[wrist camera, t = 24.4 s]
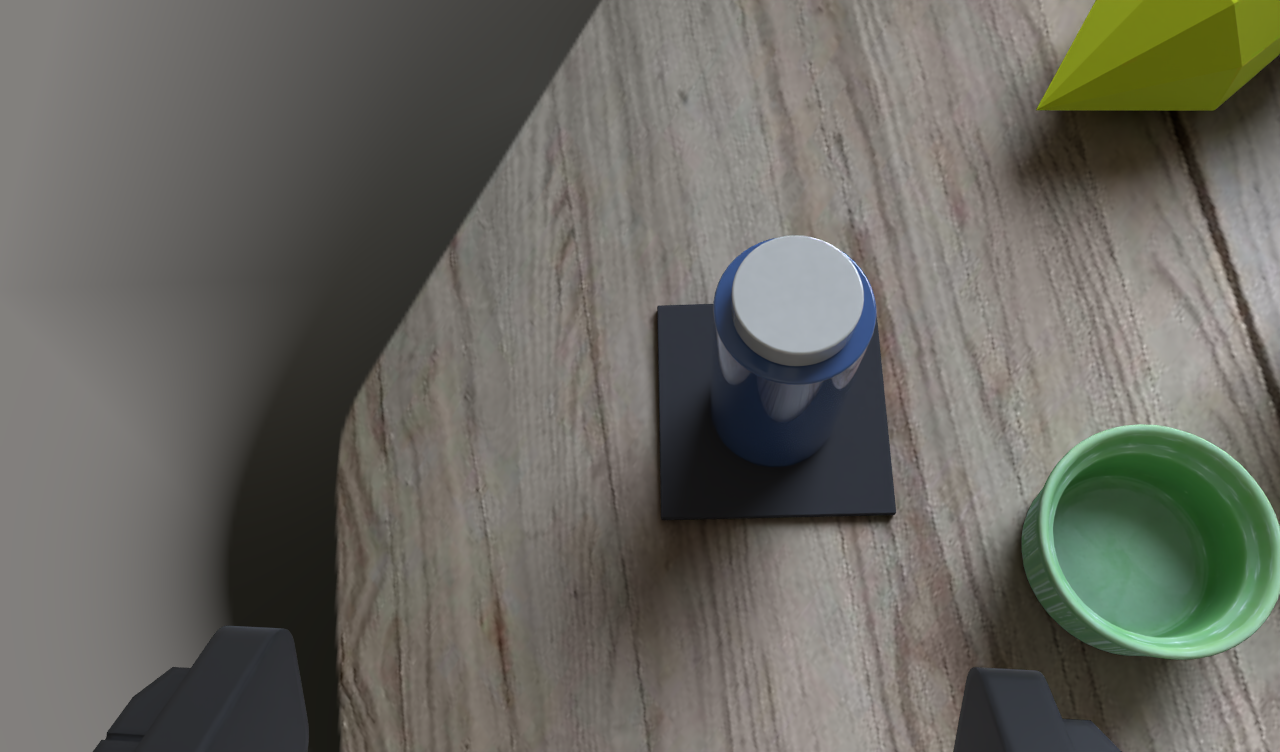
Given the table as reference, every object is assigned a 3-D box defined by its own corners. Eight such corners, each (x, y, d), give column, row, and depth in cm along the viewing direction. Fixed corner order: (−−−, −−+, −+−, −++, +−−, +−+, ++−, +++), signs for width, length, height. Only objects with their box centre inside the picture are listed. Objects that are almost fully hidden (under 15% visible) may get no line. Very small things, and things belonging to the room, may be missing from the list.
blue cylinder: (712, 469, 45) (716, 374, 33) (707, 349, 47) (710, 221, 35) (841, 466, 44) (890, 369, 33) (832, 346, 46) (874, 215, 35)
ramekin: (1277, 586, 42) (1340, 568, 38) (1109, 714, 41) (1155, 710, 37) (1123, 415, 45) (1166, 381, 41) (962, 529, 43) (990, 506, 39)
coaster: (661, 520, 44) (661, 518, 44) (657, 308, 48) (657, 305, 47) (894, 515, 44) (896, 513, 43) (873, 302, 47) (875, 298, 47)
